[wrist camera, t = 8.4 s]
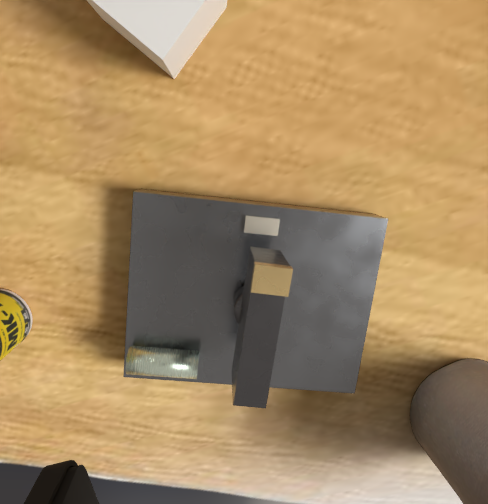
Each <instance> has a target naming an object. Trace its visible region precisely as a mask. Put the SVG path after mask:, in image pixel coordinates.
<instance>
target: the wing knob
mask: <svg viewBox="0 0 488 504" xmlns="http://www.w3.org/2000/svg"><path fill="white" fill-rule="evenodd" d="M292 273H293V268H292V267H291V266H290V265H289V263H288V262H287V260H286V259H285V257H284V255H283V254H282V252H281V251H280V250H274V249H267V248H259V247H251V246H250V250H249V257H248V264H247V270H246V277H245V284H244V285H243V286H242V287H240V288H239V289H238V290H237V292H236V293H235V296H234V300H233V304H234V315H235V319H236V321H237V323H238V331H237V337H236V344H235V351H234V357H233V364H232V371H231V373H232V393H233V405H237V406H247V407H258V408H266V404H267V398H268V392H269V387H270V381H271V375H272V369H273V364H274V358H275V352H276V346H277V341H278V335H279V329H280V323H281V318H282V312H283V306H284V300H285V297H288V296H289V290H290V284H291V279H292Z"/></svg>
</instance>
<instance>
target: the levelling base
mask: <svg viewBox="0 0 488 504" xmlns="http://www.w3.org/2000/svg"><path fill="white" fill-rule="evenodd" d="M387 222H388V219H387V218H384V217H382V216H379V215H376V214H370V213H360V212H351V211H342V210H333V209H323V208H314V207H305V206H296V205H286V204H277V203H268V202H259V201H249V200H240V199H231V198H222V197H212V196H203V195H194V194H184V193H175V192H166V191H157V190H147V189H139V190H136V191H133V208H132V227H131V246H130V265H129V284H128V303H127V323H126V342H125V361H124V377H133V378H147V379H161V380H175V381H189V382H203V383H217V384H231V385H232V373H231V371H232V364H233V357H234V351H235V344H236V337H237V331H238V323H237V321H236V319H235V315H234V304H233V300H234V296H235V293H236V292H237V290H238V289H239V288H240V287H242V286H243V285H244V284H245V277H246V270H247V264H248V257H249V250H250V246H251V247H259V248H267V249H274V250H280V251H281V252H282V254H283V255H284V257H285V259H286V260H287V262H288V263H289V265H290V266H291V267H292V268H293V273H292V279H291V284H290V290H289V296H288V297H285V300H284V306H283V312H282V318H281V323H280V329H279V335H278V341H277V346H276V352H275V358H274V364H273V369H272V375H271V381H270V387H273V388H287V389H301V390H315V391H329V392H343V393H355V388H356V383H357V378H358V373H359V368H360V362H361V357H362V352H363V347H364V342H365V336H366V331H367V326H368V321H369V316H370V310H371V305H372V300H373V295H374V290H375V285H376V279H377V274H378V269H379V264H380V259H381V253H382V248H383V243H384V238H385V233H386V228H387Z"/></svg>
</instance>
